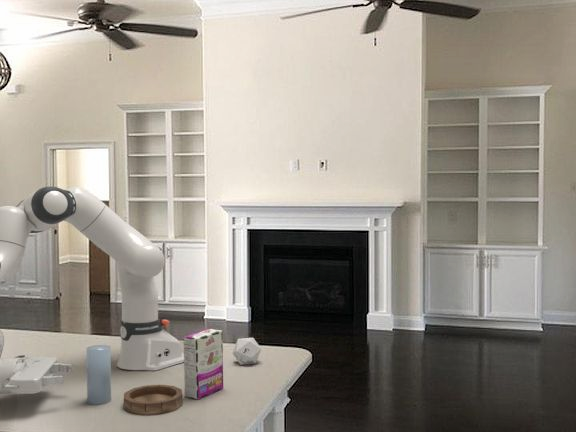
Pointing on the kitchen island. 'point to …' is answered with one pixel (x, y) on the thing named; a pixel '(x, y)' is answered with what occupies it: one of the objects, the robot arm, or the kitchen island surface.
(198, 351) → the candy bar box
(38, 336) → the kitchen island surface
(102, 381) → the pale blue cylinder
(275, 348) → the kitchen island surface
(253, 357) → the die
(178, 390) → the tray
